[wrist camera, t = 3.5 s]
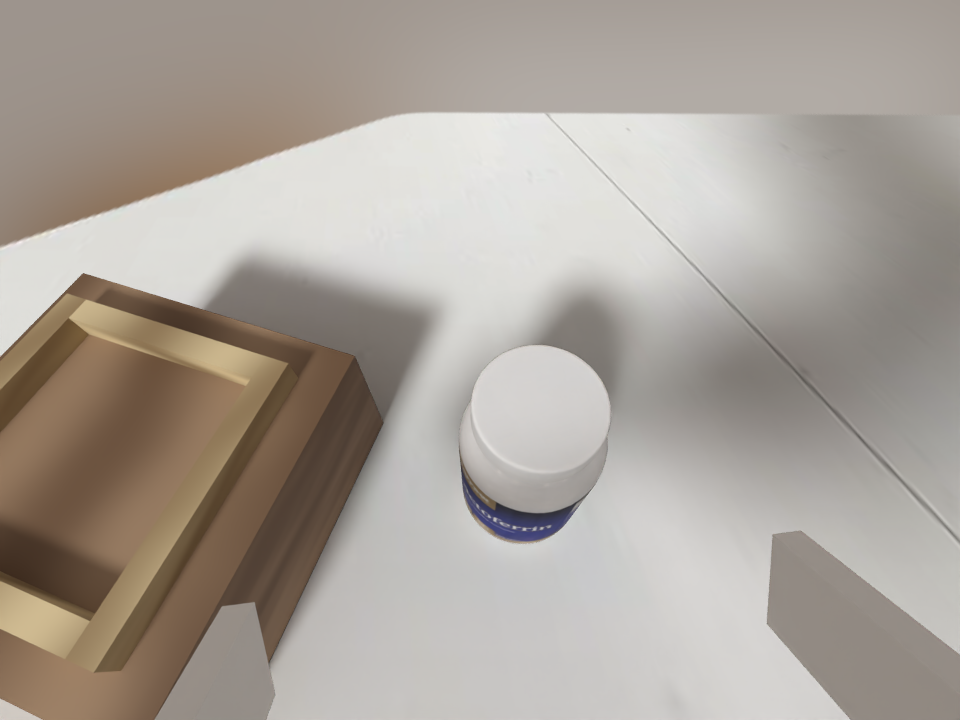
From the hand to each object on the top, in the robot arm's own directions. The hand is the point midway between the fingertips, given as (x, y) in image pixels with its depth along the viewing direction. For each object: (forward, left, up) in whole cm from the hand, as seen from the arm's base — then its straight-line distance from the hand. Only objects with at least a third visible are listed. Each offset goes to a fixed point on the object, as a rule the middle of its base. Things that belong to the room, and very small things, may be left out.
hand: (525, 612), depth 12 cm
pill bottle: (+1, -6, -11) cm, 13 cm away
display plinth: (+16, 0, -11) cm, 19 cm away
